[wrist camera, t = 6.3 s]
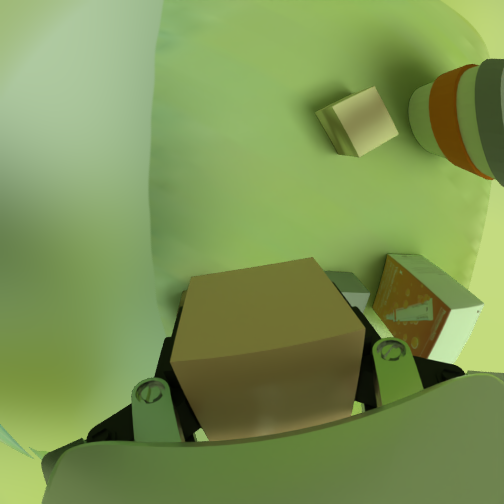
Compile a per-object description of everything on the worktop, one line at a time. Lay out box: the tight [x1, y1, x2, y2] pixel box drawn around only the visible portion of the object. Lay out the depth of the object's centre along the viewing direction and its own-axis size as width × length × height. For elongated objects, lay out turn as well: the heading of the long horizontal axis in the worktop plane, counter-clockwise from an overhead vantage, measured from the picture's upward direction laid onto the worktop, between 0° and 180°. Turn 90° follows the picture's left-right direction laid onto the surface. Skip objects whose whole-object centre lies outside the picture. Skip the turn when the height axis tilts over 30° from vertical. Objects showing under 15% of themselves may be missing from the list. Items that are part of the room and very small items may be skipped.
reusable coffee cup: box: [408, 59, 504, 187], centre depth 18 cm, size 12×12×15 cm
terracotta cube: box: [170, 257, 366, 441], centre depth 10 cm, size 5×5×5 cm
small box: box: [372, 254, 484, 364], centre depth 26 cm, size 8×6×13 cm
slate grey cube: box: [324, 271, 370, 313], centre depth 30 cm, size 5×5×5 cm
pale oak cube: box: [315, 86, 399, 157], centre depth 22 cm, size 5×5×5 cm
